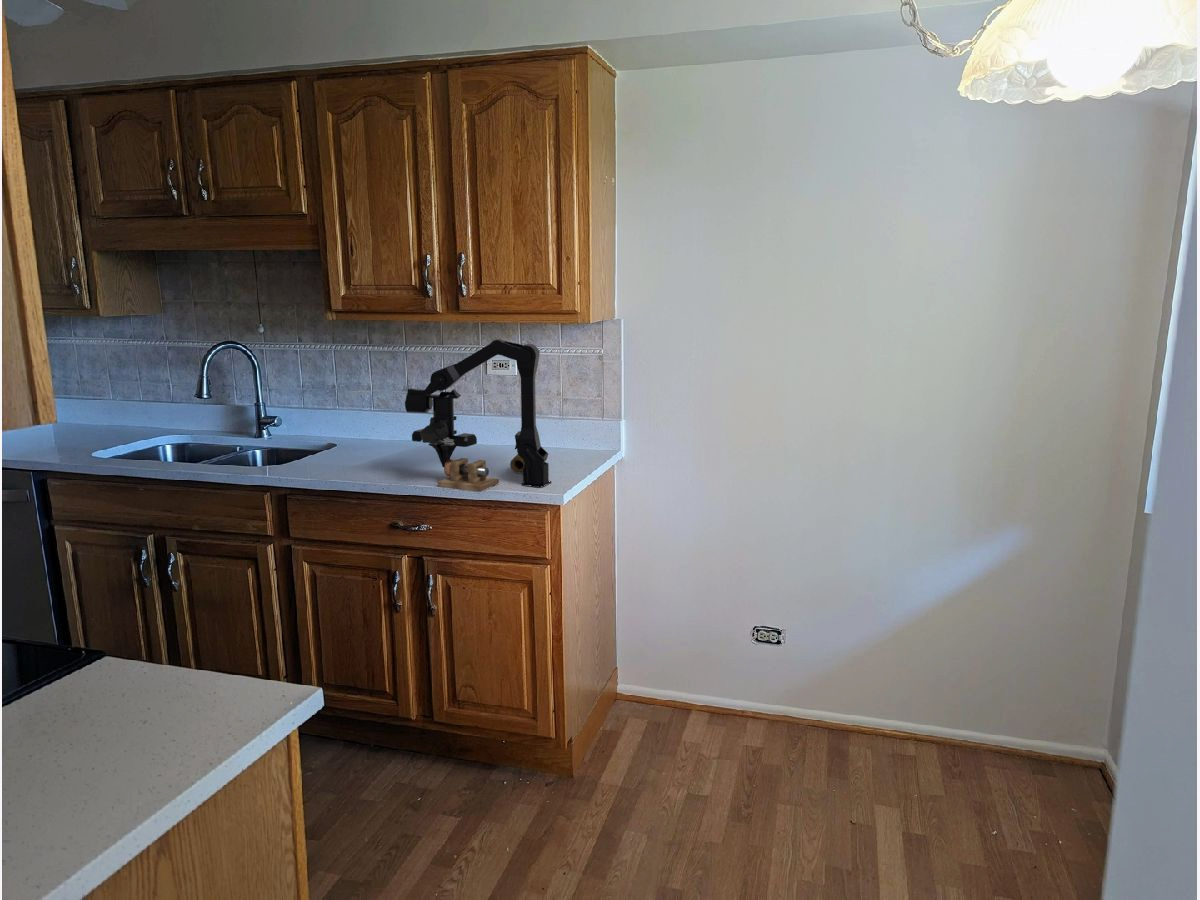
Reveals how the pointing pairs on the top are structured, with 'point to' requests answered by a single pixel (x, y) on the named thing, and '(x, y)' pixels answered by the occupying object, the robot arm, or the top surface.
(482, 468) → the shaft
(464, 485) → the bearing stand
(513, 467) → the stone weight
